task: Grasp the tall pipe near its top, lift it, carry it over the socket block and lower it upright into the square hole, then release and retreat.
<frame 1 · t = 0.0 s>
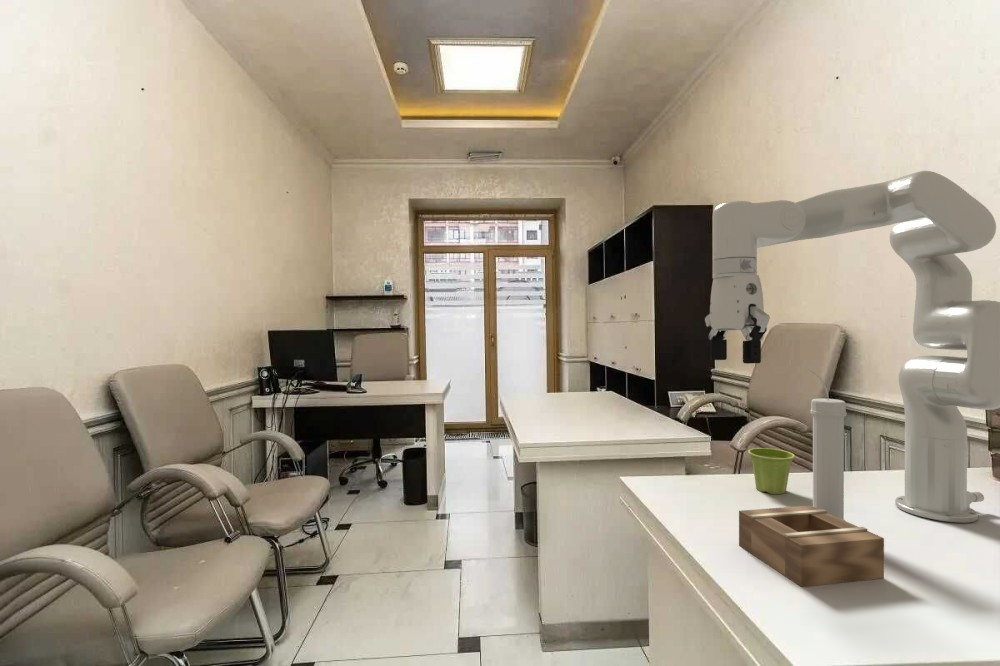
hand: (734, 361, 93), 31 cm above the table, fingers open, 9 cm apart
plant pot: (771, 491, 115), on the table
socket block: (806, 560, 80), on the table
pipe: (825, 533, 91), on the table
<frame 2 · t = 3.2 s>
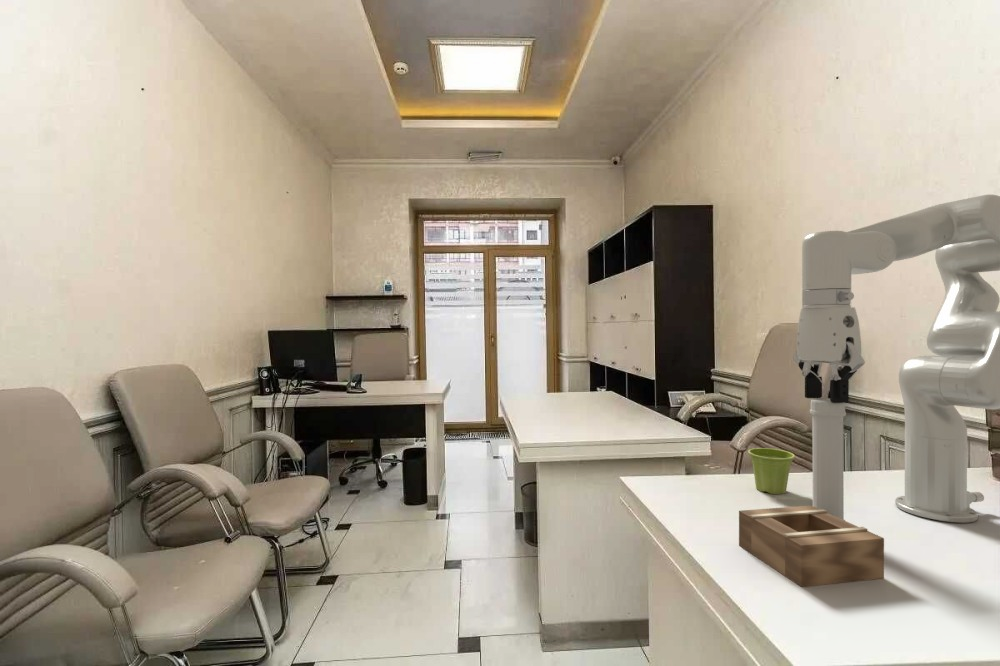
hand: (825, 399, 91), 24 cm above the table, fingers closed on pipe, 5 cm apart
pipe: (825, 533, 91), on the table, touching gripper
everything else where it was.
when the fingers open (26 cm above the table, at t = 8.7 s): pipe drops 2 cm, resting in socket block.
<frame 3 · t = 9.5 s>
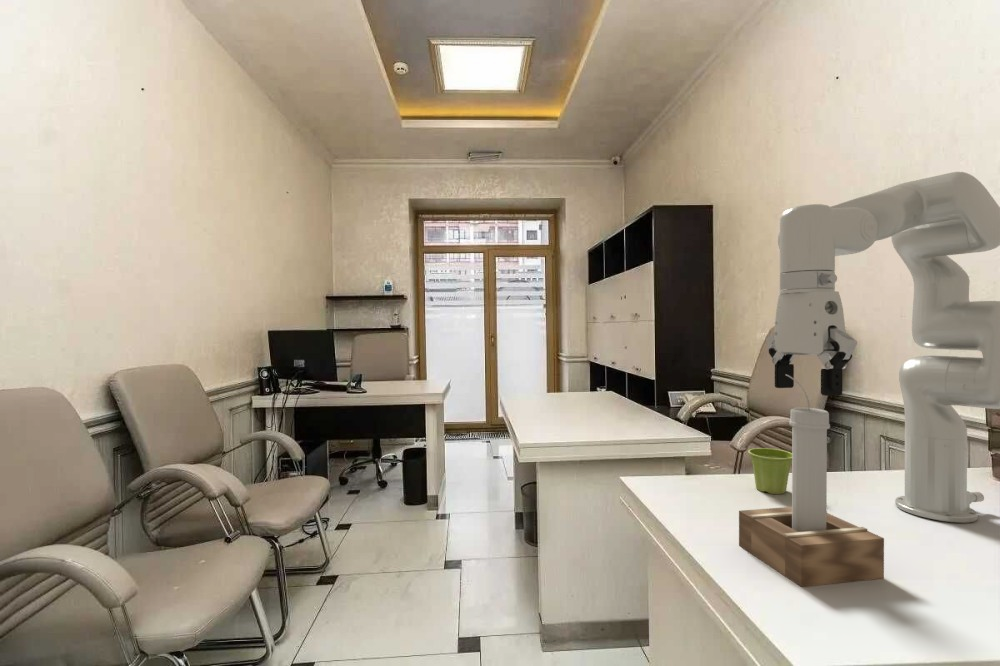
hand: (806, 391, 80), 27 cm above the table, fingers open, 9 cm apart
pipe: (806, 560, 80), resting in socket block
everything else where it was.
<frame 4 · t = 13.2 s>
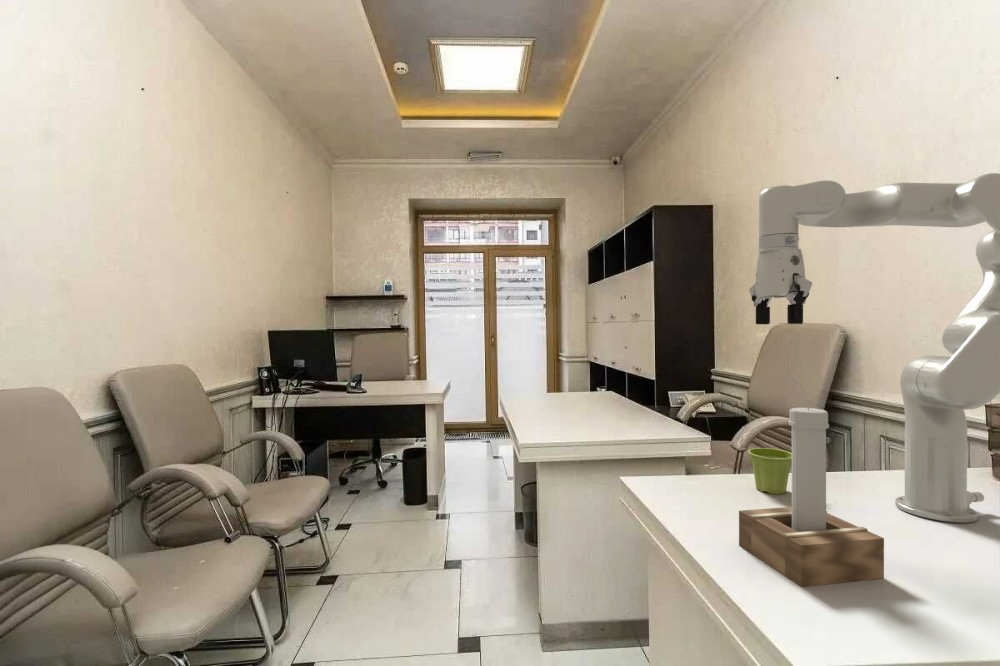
hand: (778, 324, 108), 38 cm above the table, fingers open, 9 cm apart
nothing on the table moved.
at the end: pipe 0.3 cm from the socket block (horizontally); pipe touching table; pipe tilted 1° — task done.
